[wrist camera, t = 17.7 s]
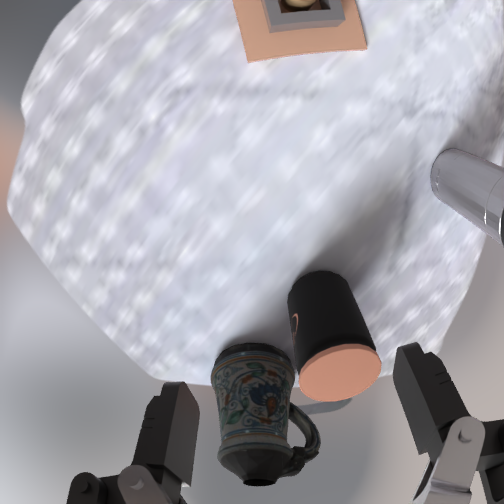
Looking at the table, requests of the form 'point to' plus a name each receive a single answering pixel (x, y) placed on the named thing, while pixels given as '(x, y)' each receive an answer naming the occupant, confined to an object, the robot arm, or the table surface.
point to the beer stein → (259, 414)
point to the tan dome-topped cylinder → (297, 5)
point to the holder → (298, 28)
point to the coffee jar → (330, 338)
